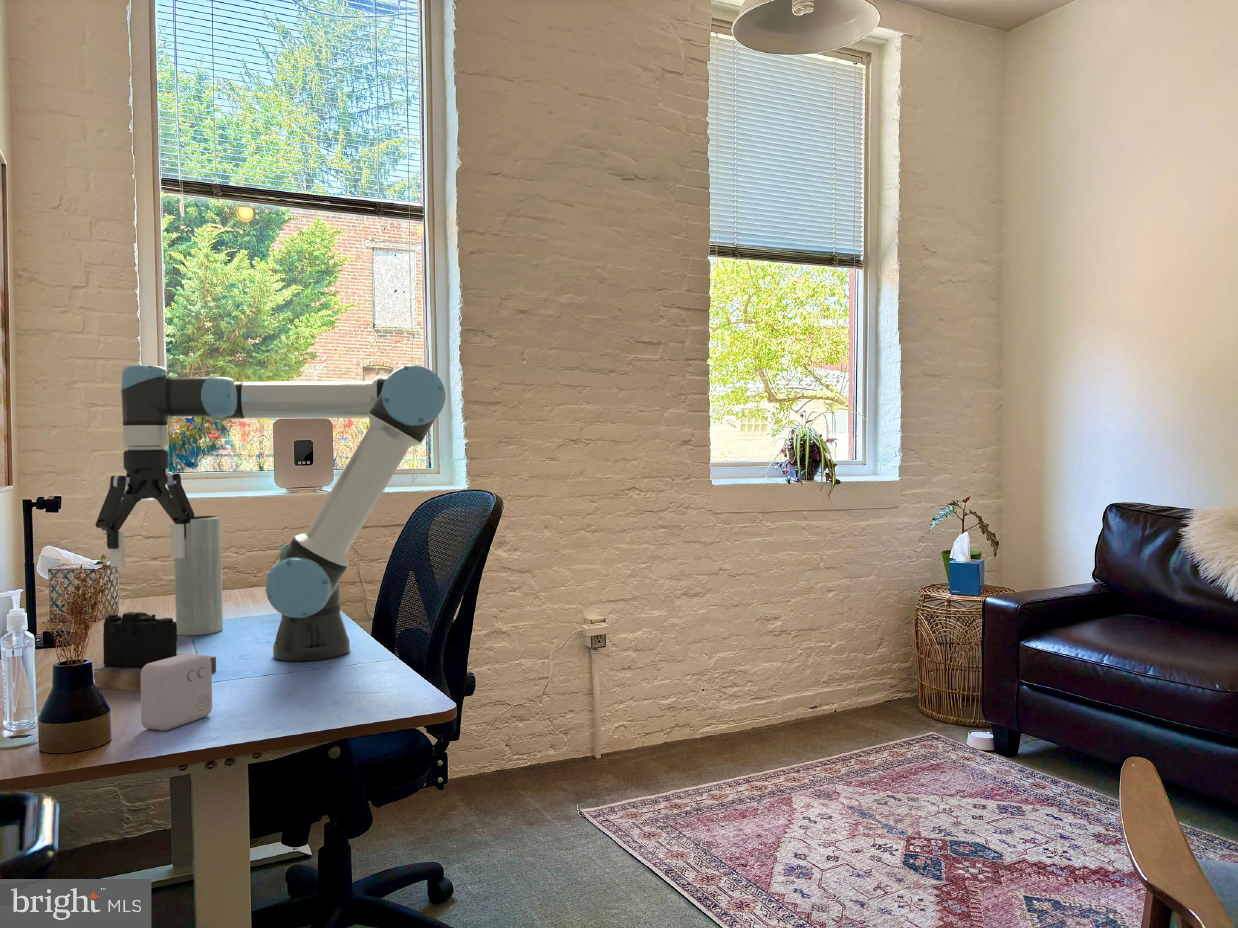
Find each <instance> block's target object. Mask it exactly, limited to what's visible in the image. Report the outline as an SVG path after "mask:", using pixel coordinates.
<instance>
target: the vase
mask: <svg viewBox="0 0 1238 928" xmlns="http://www.w3.org/2000/svg"><path fill="white" fill-rule="evenodd" d="M173 524H175V523H174V522H173ZM184 547H185V558H174V587H175V590H174V591H175V594H174V595H175V596H174V597H175V622H176V623H177V636H178V635H179V636H187V637H188V636H189V637H192V636H193V637H194V636H196V637H197V636H206V635H211V634H216V633H220V632H221V631H222V630H223V629H224V615H223V614H224V612H223V567H222V565H223V563H222V562H223V561H222V560H223V558H222V557H223V555H222V518H221V516H219V515H195V518H194V519H191V522H190V523H189V524H186V540H184Z"/></svg>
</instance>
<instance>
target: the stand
mask: <svg viewBox="0 0 1238 928" xmlns="http://www.w3.org/2000/svg"><path fill="white" fill-rule="evenodd" d="M182 654H183V653H181V652H180V653H178V652H177V656H178V655H182ZM207 656H208V657H209V658H210V660H211V674H212V673H214V672H215V673H216V672H217V656H213V655H212V656H211V655H207ZM104 666H105V665H104V663H102V664H98V665H95V666H93V667H94V679H95V684H96V685H97V687H96V688H102V689H109V690H110V689H111V690H121V691H127V692H129V691H130V692H139V693H141V677H140V675H141V670H142V669H140V668H120V667H104Z"/></svg>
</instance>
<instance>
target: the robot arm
mask: <svg viewBox="0 0 1238 928" xmlns="http://www.w3.org/2000/svg"><path fill="white" fill-rule="evenodd" d="M121 373H122V374H121V388H120V393H121V411H122V413H121V414H122V445H123V448H126V450H124V452H122V453H123V454H122V456H123V457H122V458H123V459H122V460H123V469H124V470H125V471H126V475H112V476H111V477H110V481H109V489H108V492H107V494H106V496H105V499H104V501H103V504H102V506H101V509H100V511H99V514H98V517H97V518H96V522H95V527H96V528H98V529H101V530H102V531H105V532H106V547H107V549H108V550H109V563H110V564H109V565H110V566H109V567H110V568H111V567H112V568H124V567H125V568H126V549H125V547H126V545H125V541H126V540H125V530H120V529H121V528H122V526H123V525H124V523H125V522H126V520H127V519H128V517H129V516H130V514H131V512H132V511H133V509H134V508H135V506H136V505H137V503H138V502H140V501H141V500H145V499H146V500H147V499H154V500H156V501H157V502H158V503H159V504H160V506H161V507H162V509H163V510H164V512H165V513H166V514H167V515H168V517H170V519H171V521H172V522H173V523H170V524H169V529H170V530H169V533H170V534H169V535H170V537H169V538H170V559H171V558H172V559H175V558H185V547H184V540H186V524H189V523H190V522H191V519H194V518H195V516H196V515H195V512H194V510H193V508H192V506H191V503H190V502H189V498H188V496H187V495H186V494H187V493H186V491H185V490H184V487H183V484H182V476H181V474H180V473H178V472H177V473H175V472H174V473H173V472H171V473H169V472H167V469H168V468H169V466H170V459H169V458H170V457H169V455H170V454H169V451H168V449H166V447H169V427H168V426H169V422H168V419H169V417H172V418H176V417H181V418H183V417H185V418H186V417H187V418H188V417H193V418H194V417H195V418H196V417H197V418H208V419H212V420H214V421H215V420H216V421H225V420H235V419H236V420H237V419H238V420H243V419H347V418H348V419H365V418H366V419H368V420H369V427H368V429H367V431H366V432H365V434H364V435H363V437H362V439H361V441H360V442H359V444H358V445H357V447H356V449H355V451H354V452H353V454H352V456H351V457H350V458H349V460H348V462H347V464H346V465H345V467H344V469H343V471H342V472H341V474H340V476H339V477H338V479H337V480H336V481H335V483H334V485H333V487H332V488H331V491H330V492H329V494H328V495H327V497H326V498H325V501H324V502H323V503H322V506H321V508H320V509H319V511H317V514H316V516H315V517H314V519H313V520H312V522H311V524H310V525H309V527H308V529H307V530H306V531H305V532H303V533H299V534H296V535H294V537H293V538H292V539H291V541H290V543H287V544H283V545H282V546H281V547H280V552H279V557H278V558H279V560H278V563H276V564H275V565H274V566H273V567H272V568H271V569H270V571H269V573H268V574H267V577H266V584H265V593H266V597H267V600H268V602H269V604H270V605H271V607H272V608H273V609H274V610H276V612H278V613H279V614H281V620H280V622H279V627H278V628H277V629H278V630H277V632H276V635H275V636H276V637H275V640H274V642H273V646H272V650H273V651H272V654H273V655H272V657H273V658H274V659H277V660H280V661H286V662H308V661H319V660H327V659H332V658H336V657H340V656H344V655H345V654H348V653H349V652H350V649H351V648H350V644H351V643H350V638H349V636H348V633H347V630H346V627H345V624H344V620H343V618H342V614H341V579H342V577H343V576H344V574H345V572H346V570H347V569H348V567H349V565H350V562H349V559H348V554H347V553H348V552H349V550H350V548H351V546H352V545H353V543H354V541H355V540H356V538H357V536H358V535H359V534H360V532H361V530H362V529H363V527H364V524H365V523H366V521H367V520H368V518H369V517H370V515H371V513H372V511H373V510H374V507H376V504H377V503H378V501H379V499H380V498H381V496H382V494H383V492H384V491H385V489H386V488H387V486H388V484H389V483H390V481H391V479H392V477H393V476H394V474H395V472H396V471H397V469H398V468H399V465H400V464H401V462H402V461H403V459H404V457H405V455H406V454H407V452H408V451H409V449H410V448H412V447H415V446H419V445H421V444H422V442H423V440H424V439H425V438H426V436H427V434H428V433H429V431H430V429H431V428H432V425H433V423H434V422H435V421H436V419H437V417H439V415H440V413H441V412H442V410H443V409H444V406H445V403H446V390H445V386H444V383H443V382H442V380H441V378H440V377H439V376H438V375H437V373H435V372H433V371H432V370H431V369H429V368H427V367H424V366H422V365H417V364H408V365H402V366H400V367H398V368H397V369H394V370H393V371H392V373H389V374H388V376H375V377H374V378H373V379H372V380H371V381H234V379H232V378H231V377H227V376H226V377H225V376H215V375H212V376H186V377H185V376H183V377H179V376H177V377H175V376H168V375H169V374H167V373H168V372H167V368H166V367H164V366H159V365H141V364H139V365H138V364H137V365H134V364H133V365H128V366H126V367H124V368H123V370H122V372H121ZM126 487H127V488H126ZM174 523H175V524H174Z"/></svg>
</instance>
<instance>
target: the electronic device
mask: <svg viewBox="0 0 1238 928" xmlns="http://www.w3.org/2000/svg"><path fill="white" fill-rule="evenodd" d="M181 654H182V655H178V656H174V657H171V658H167V659H163V660H159V661H155V662H152V663H148V664H146V665H145V666H144V667H143V668H142V670H141V675H140V677H141V692H140V711H141V712H140V717H141V719H140V720H141V725H142V727H143V728H144V729H147V730H148V729H149V730H155V731H163V732H166V731H169V730H173V729H175V728H178V727H181V726H183V725H186V724H189V723H192V722H195V721H198V720H201V719H203V718H206V717H208V716H209V715H210V714H211V713H212V709H213V687H212V685H213V684H212V683H213V682H212V673H211V660H210V658H209V657H208V656H209V655H206V654H202V653H201V654H200V653H199V654H198V653H188V652H186V653H181Z"/></svg>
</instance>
